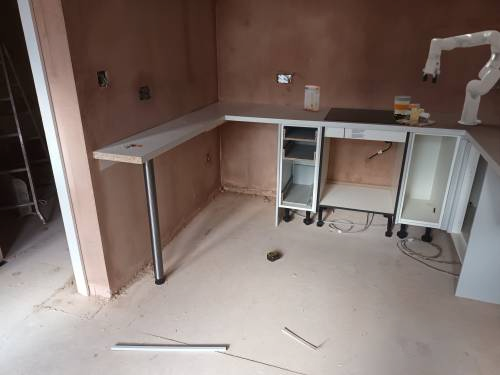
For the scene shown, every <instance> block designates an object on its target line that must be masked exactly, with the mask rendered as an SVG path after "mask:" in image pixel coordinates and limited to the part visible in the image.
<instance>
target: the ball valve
mask: <svg viewBox="0 0 500 375" xmlns="http://www.w3.org/2000/svg"><path fill="white" fill-rule="evenodd" d="M416 108H417V107H416ZM416 108H410V109H411V110H409V109H408V110H406V111H405V115H408V116H410V121H414V122H420V121H421V118H425V119H428V120H429V119H430V116H431V114H430V113H428V112H425V109H424V108H419V109H416Z"/></svg>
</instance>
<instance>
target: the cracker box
mask: <svg viewBox="0 0 500 375" xmlns="http://www.w3.org/2000/svg"><path fill="white" fill-rule="evenodd" d="M320 96H321V86H317V85H311V84H310V85H305V86H304V104H303V105H304V106H303V108H304V110H306V109H307V110H306V111H310V112H319V111H320V110H319V109H320Z"/></svg>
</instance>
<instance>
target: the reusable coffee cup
mask: <svg viewBox="0 0 500 375" xmlns="http://www.w3.org/2000/svg"><path fill="white" fill-rule="evenodd" d="M411 101H412V96H410V95H395V96H394V104H393V105H394V106H393V109H394V115H395V114H401V115H405V111H406V110H409V109H410V108H409V105H410V104H411V103H410V102H411Z"/></svg>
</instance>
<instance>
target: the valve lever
mask: <svg viewBox="0 0 500 375" xmlns="http://www.w3.org/2000/svg"><path fill="white" fill-rule="evenodd" d="M409 104H410V105H409V109H413V108H416V109H419V108H420V107H421V104H420V103H409ZM420 109H421V108H420Z"/></svg>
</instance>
